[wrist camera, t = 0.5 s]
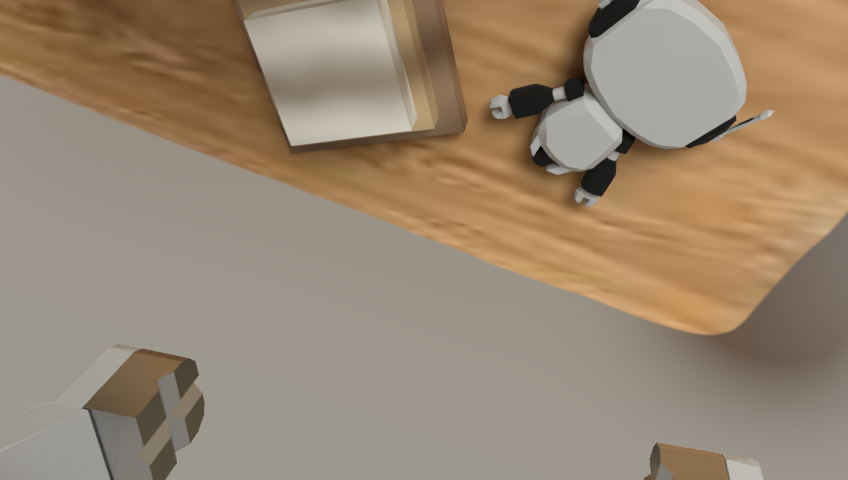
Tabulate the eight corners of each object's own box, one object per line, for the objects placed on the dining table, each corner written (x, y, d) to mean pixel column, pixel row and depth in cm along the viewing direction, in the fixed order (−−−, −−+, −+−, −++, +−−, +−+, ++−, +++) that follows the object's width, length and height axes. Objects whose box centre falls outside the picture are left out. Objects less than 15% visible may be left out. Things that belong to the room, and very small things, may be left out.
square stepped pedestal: (234, -37, 46) (193, -12, 42) (425, -80, 42) (404, -58, 38) (300, 142, 54) (272, 179, 49) (467, 120, 50) (454, 159, 45)
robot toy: (589, 194, 53) (774, 81, 44) (585, 228, 49) (785, 114, 40) (484, 84, 49) (662, -64, 40) (472, 113, 46) (664, -41, 37)
